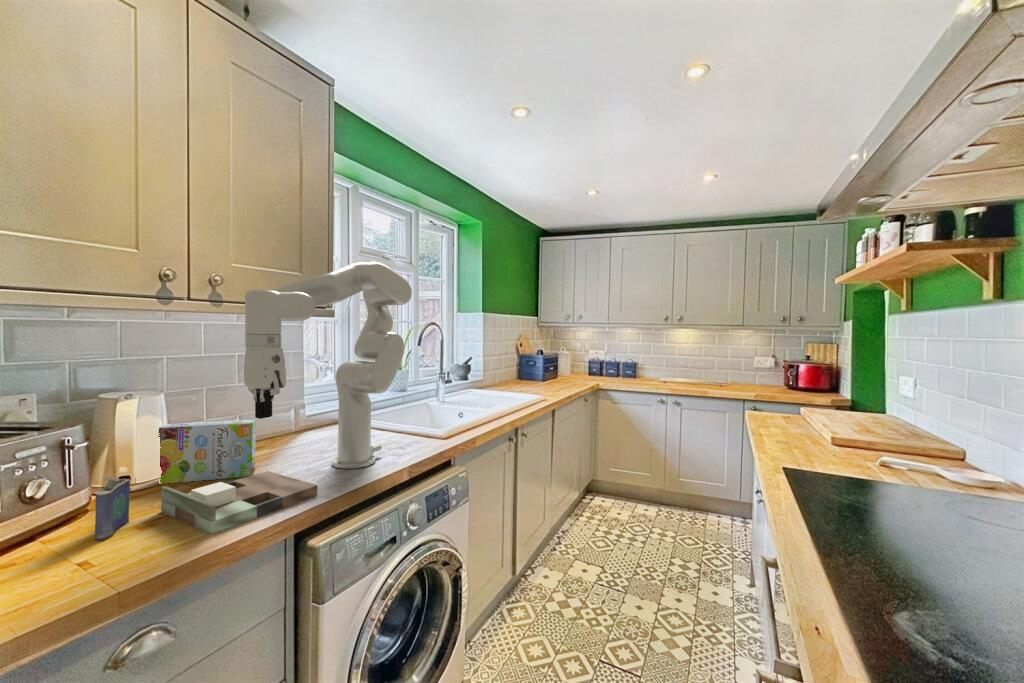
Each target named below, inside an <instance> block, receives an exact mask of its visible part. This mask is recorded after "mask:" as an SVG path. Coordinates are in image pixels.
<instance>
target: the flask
mask: <svg viewBox="0 0 1024 683" xmlns="http://www.w3.org/2000/svg"><path fill="white" fill-rule="evenodd" d="M106 481H107V483H106V484H105V486H104V487H102V488H101V489H100V490H99V491H97V492H96V494H95V516H94V517H95V523H94V541H95V542H99V541H107V539H109V538H112V537H113V536H114V535H115V534H116V533H117V532H116V531H117V530H119V531H120V529H122V528H123V527H124V526H126V525H127V524H128V523H130V520H129V519H130V497H131V496H130V494H131V480H130V479H129V478H128V479H127V478H121V479H120V478H118V477H114V476H108V477H106V478H104V482H106ZM121 527H122V528H121ZM115 532H116V533H115ZM114 533H115V534H114ZM111 536H112V537H111Z"/></svg>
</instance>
